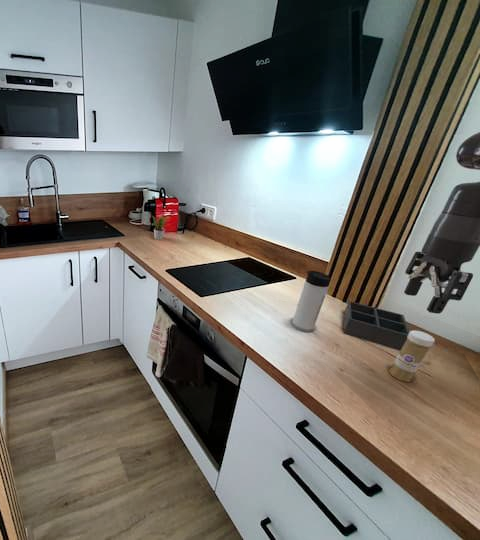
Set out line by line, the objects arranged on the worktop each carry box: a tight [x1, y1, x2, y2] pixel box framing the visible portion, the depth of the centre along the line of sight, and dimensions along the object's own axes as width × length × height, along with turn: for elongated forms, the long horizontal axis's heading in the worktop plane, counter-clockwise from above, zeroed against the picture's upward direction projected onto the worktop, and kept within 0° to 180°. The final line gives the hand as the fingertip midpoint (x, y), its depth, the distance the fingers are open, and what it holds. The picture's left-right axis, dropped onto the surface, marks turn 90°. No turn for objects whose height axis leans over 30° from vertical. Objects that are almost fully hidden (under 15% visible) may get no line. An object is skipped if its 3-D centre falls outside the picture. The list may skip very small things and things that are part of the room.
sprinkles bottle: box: [388, 330, 436, 383], centre depth 74 cm, size 5×5×14 cm
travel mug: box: [291, 270, 332, 333], centre depth 93 cm, size 6×7×20 cm
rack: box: [342, 300, 410, 352], centre depth 94 cm, size 15×15×6 cm
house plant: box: [151, 214, 170, 241], centre depth 180 cm, size 14×14×16 cm
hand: (420, 302), depth 66 cm, fingers open, 8 cm apart
